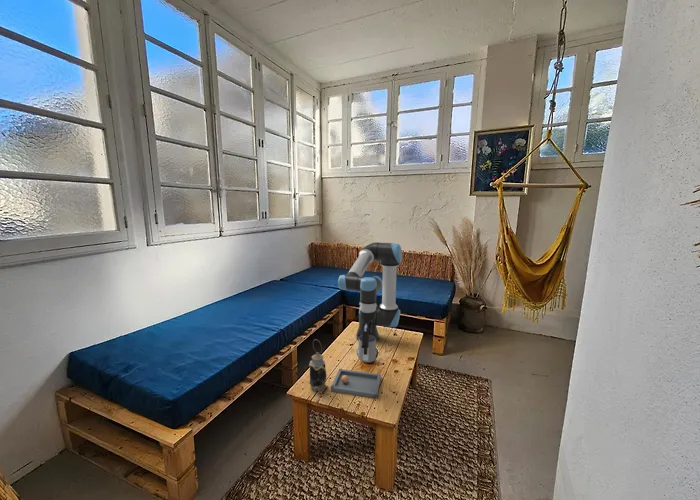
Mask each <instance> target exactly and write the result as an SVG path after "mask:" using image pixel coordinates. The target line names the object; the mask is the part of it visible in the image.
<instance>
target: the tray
mask: <svg viewBox="0 0 700 500" xmlns="http://www.w3.org/2000/svg"><path fill="white" fill-rule="evenodd" d="M343 375H347V376H348V378H349V380H348V382H347V383H343V382H342V380H341V378H342V376H343ZM381 377H382V375H381V373H373V372H366V371H358V370H352V369H344V368H339V369H338V371H337V373H336V375H335V378H334V379H333V382H332V385H331V386H330V392H335V393H341V394H349V395H355V396H358V397H359V396H360V397H366V398H373V399H377V398H378V393H379V388H380V384H381Z"/></svg>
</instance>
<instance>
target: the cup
mask: <svg viewBox="0 0 700 500" xmlns="http://www.w3.org/2000/svg"><path fill="white" fill-rule="evenodd" d="M362 338H363V335H361V336H360V337H359V341H358V351H357V352H358V354H357V355H358V360H360V361H361V362H364V363H373V362H374V361H375V360H376V358H377V357H376V356H377V354H376V353H377V341H376V337H375V336H373V335H369V343H368V347H369V359H368V361H366V360H363V348H362V347H361V346H362Z"/></svg>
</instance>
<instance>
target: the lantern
mask: <svg viewBox="0 0 700 500" xmlns="http://www.w3.org/2000/svg"><path fill="white" fill-rule="evenodd" d="M315 341H318V339H316V338H315V339H314V340H313V341H312V343H314V342H315ZM318 343H319V344H320V347H321V351H320V352H318V351H316V349H315V347H314V345H312V348H313V350H314V351H316V353H315V354H313V355H312V356H311V360H310V361H309V364H308V367H309V385H310V388H311V389H312V390H313V391H315V392H317V391H318V392H320V391H322V390H323V389H325V387H326V385H325V384H326V381H327V369H326V364H325V363H326V361H325V360H324V355H322V354H321V353H322V352H323V346H322V343H321V342H320V341H318Z"/></svg>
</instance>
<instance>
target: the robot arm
mask: <svg viewBox="0 0 700 500" xmlns="http://www.w3.org/2000/svg"><path fill="white" fill-rule="evenodd" d="M402 251H403V250H402V247H401V245H400V244H399V243H394V242H377V241H376V242H372V243H368V244H367V245H365V246H364V247H363V248H362V249H360V251H359V253H358V257H357V258H356V260H355V261H354V263H353V265H352V266H351V267H350V269H349V271H348V272H347V273H346V274H340V275H339V276H338V279H337V286H338V288H339V289H340V290H345V291H352V292H353V291H355V292H360V294H359V295H360V297H359V298H360V299H359V302H358V303H359V304H358V305H359V309H358V327H357V332H356V337H355V338H356V340H357V341H358V342H359V337H360V336H361V335H363V338H362V346H361V347H362V348H363V360H366V361H368V359H369V347H368V343H369V335H373V336H375V337H376V342H378V341H379V339H380V334H379V331H378V328H377V326H382V327H388V328H396V327H398V324H399V320H400V316H401V309H399V306H398V304H397V303H396V300H397V298H396V297H397V268H398V267H399V266H400V263H402V262H403V252H402ZM372 262H380V266H381V267H382V277H379V276H378V275H373V276H370V277H369V276H368V277H367V276H363V275H364V274H365V272H366V270H367V268H368V267H369V265H370V264H371V263H372ZM381 278H382V279H381ZM381 289H382V290H381ZM379 291H381V293H382V295H381V297H382V298H381V303H380V304H379V306H378V304H377V294H378V292H379Z"/></svg>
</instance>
